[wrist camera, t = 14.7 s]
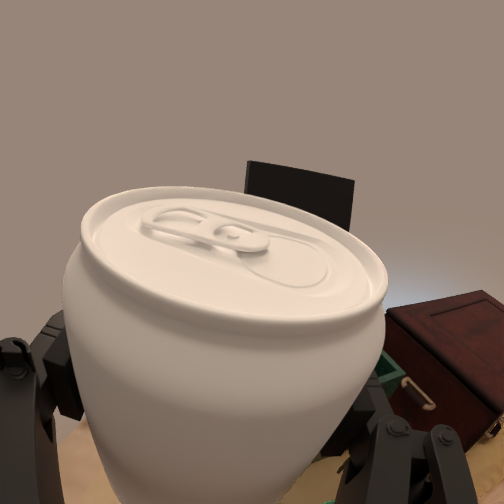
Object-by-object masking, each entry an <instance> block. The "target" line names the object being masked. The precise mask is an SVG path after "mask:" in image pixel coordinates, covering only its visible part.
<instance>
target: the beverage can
mask: <svg viewBox="0 0 504 504" xmlns="http://www.w3.org/2000/svg"><path fill="white" fill-rule="evenodd" d="M387 289H388V275H387V271H386V269H385V267H384V265H383V263H382V262H381V261H380V259H379V258H378V256H377V255H376V254H375V253H374V252H373V251H372V250H371V249H370V248H369V247H368V246H367V245H366V244H364V243H363V242H362V241H361V240H359V239H358V238H356V237H355V236H353V235H352V234H350V233H349V232H347V231H345V230H344V229H342V228H340V227H338V226H337V225H335V224H333V223H331V222H329V221H327V220H325V219H322V218H320V217H318V216H316V215H313V214H311V213H308V212H306V211H303V210H300V209H298V208H295V207H292V206H289V205H286V204H283V203H279V202H276V201H272V200H269V199H265V198H261V197H257V196H252V195H248V194H243V193H238V192H232V191H226V190H219V189H210V188H200V187H183V186H182V187H181V186H165V187H150V188H141V189H134V190H129V191H125V192H121V193H118V194H115V195H112V196H109V197H107V198H105V199H103V200H101V201H100V202H98V203H96V204H95V205H93V206H92V207H91V208H90V209H89V210H88V211H87V212H86V214H85V216H84V217H83V220H82V222H81V228H80V242H79V244H78V245H77V247H76V248H75V250H74V252H73V253H72V255H71V257H70V259H69V261H68V264H67V266H66V270H65V273H64V277H63V282H62V306H63V313H64V320H65V327H66V333H67V338H68V344H69V349H70V354H71V359H72V364H73V368H74V373H75V377H76V381H77V385H78V389H79V393H80V397H81V400H82V404H83V408H84V411H85V414H86V418H87V421H88V424H89V427H90V431H91V434H92V437H93V440H94V443H95V445H96V448H97V451H98V454H99V456H100V459H101V462H102V464H103V467H104V469H105V472H106V474H107V477H108V479H109V482H110V484H111V486H112V488H113V490H114V492H115V494H116V496H117V497H118V499H119V500H120V502H121V503H122V504H277V502H278V501H279V500H280V499H281V498H282V497H283V496H284V495H285V493H286V492H287V491H288V490H289V489H290V488H291V486H292V485H293V484H294V483H295V482H296V480H297V479H298V478H299V477H300V476H301V474H302V473H303V472H304V471H305V469H306V468H307V467H308V466H309V464H310V463H311V462H312V461H313V459H314V458H315V457H316V455H317V454H318V453H319V451H320V450H321V449H322V447H323V446H324V445H325V443H326V442H327V441H328V439H329V438H330V436H331V435H332V434H333V432H334V431H335V429H336V428H337V426H338V425H339V424H340V422H341V421H342V419H343V418H344V416H345V415H346V413H347V412H348V410H349V409H350V407H351V406H352V404H353V402H354V401H355V399H356V398H357V396H358V395H359V393H360V391H361V390H362V388H363V386H364V385H365V383H366V381H367V380H368V378H369V376H370V375H371V373H372V371H373V370H374V368H375V366H376V364H377V362H378V360H379V358H380V355H381V352H382V348H383V345H384V339H385V316H384V310H383V305H382V301H383V299H384V297H385V294H386V292H387Z"/></svg>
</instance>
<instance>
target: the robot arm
mask: <svg viewBox="0 0 504 504" xmlns="http://www.w3.org/2000/svg"><path fill="white" fill-rule="evenodd" d="M381 386H382V385H381V383H380V381H379V380H378V376H377V374H376V372H375V370H373V371H372V373H371V375H370V376H369V378H368V380H367V381H366V383H365V385H364V386H363V388H362V390H361V391H360V393H359V395H358V396H357V398H356V399H355V401H354V402H353V404H352V406H351V407H350V409H349V410H348V412H347V413H346V415H345V416H344V418H343V419H342V421H341V422H340V424H339V425H338V426H337V428H336V429H335V431H334V432H333V434H332V435H331V436H330V438H329V439H328V441H327V442H326V443H325V445H324V446H323V447H322V449H321V450H320V454H321V457H331V456H341V455H342V454H343V453H344V452H345V450H346V449H347V448H348V450H349V454H350V457H349V458H348V459H347V460H346V461H345V462H344V463H343V465H342V466H341V467H340V468H339V469H338V471H337V473H338V474H339V473H340V472H341V471H342V470H343V469H344V470H343V474H342V477H341V481H340V485H339V488H338V492H337V495H336V499H335V502H334V504H478V500H477V496H476V492H475V488H474V484H473V481H472V477H471V474H470V470H469V467H468V464H467V460H466V457H465V454H464V451H463V448H462V445H461V442H460V439H459V436H458V434H457V433H456V431H455V430H454V429H453V428H451V427H449V426H447V425H443V424H440V425H436V426H435V427H434V428H433V429H432V430H431V431H430V432H424V431H418V430H413V429H411V427H410V425H409V423H408V422H407V421H406V420H405V419H403V418H402V417H399V416H397V415H394V413H393V410H392V408H391V406H390V403H389V401H388V399H387V397H386V394H385V392H384V390H383V388H382V387H381ZM56 406H58V409H59V411H60V414H61V415H63V416H66V417H69V418H72V419H75V420H78V421H80V420H81V418H82V416H83V413H84V408H83V404H82V400H81V397H80V393H79V389H78V385H77V381H76V377H75V373H74V368H73V364H72V359H71V354H70V349H69V344H68V338H67V333H66V327H65V320H64V313H63V310H61V311H60V312H58V313H56V314H55V315H53V316H52V317H51V318H50V319H49V321H48V322H47V323H46V326H44V327H43V329H42V330H41V332H40V333H39V334H38V335H37V336H36V338H35V339H34V340H33V342H32V343H31V344H30V346H29V345H28V344H27V342H26V341H24V340H22V339H21V338H15V337H12V338H6V339H3V340H1V341H0V504H65V503H64V498H63V492H62V486H61V479H60V472H59V463H58V454H57V443H56V428H55V419H54V416H53V412H54V410H55V408H56ZM429 475H431V480H432V481H430V480H429V477H428V476H429Z"/></svg>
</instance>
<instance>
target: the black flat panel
mask: <svg viewBox="0 0 504 504" xmlns="http://www.w3.org/2000/svg"><path fill="white" fill-rule="evenodd" d="M354 183H355V181H354V180H351V179H346V178H341V177H337V176H332V175H328V174H323V173H318V172H313V171H308V170H303V169H298V168H292V167H287V166H281V165H276V164H270V163H264V162H258V161H252V160H251V161H247V170H246V179H245V189H244V194H248V195H252V196H257V197H261V198H265V199H269V200H272V201H276V202H279V203H283V204H286V205H289V206H292V207H295V208H298V209H300V210H303V211H306V212H308V213H311V214H313V215H316V216H318V217H320V218H322V219H325V220H327V221H329V222H331V223H333V224H335V225H337V226H338V227H340V228H342V229H344V230H345V231H347V232H349V228H350V220H351V211H352V203H353V193H354Z"/></svg>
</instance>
